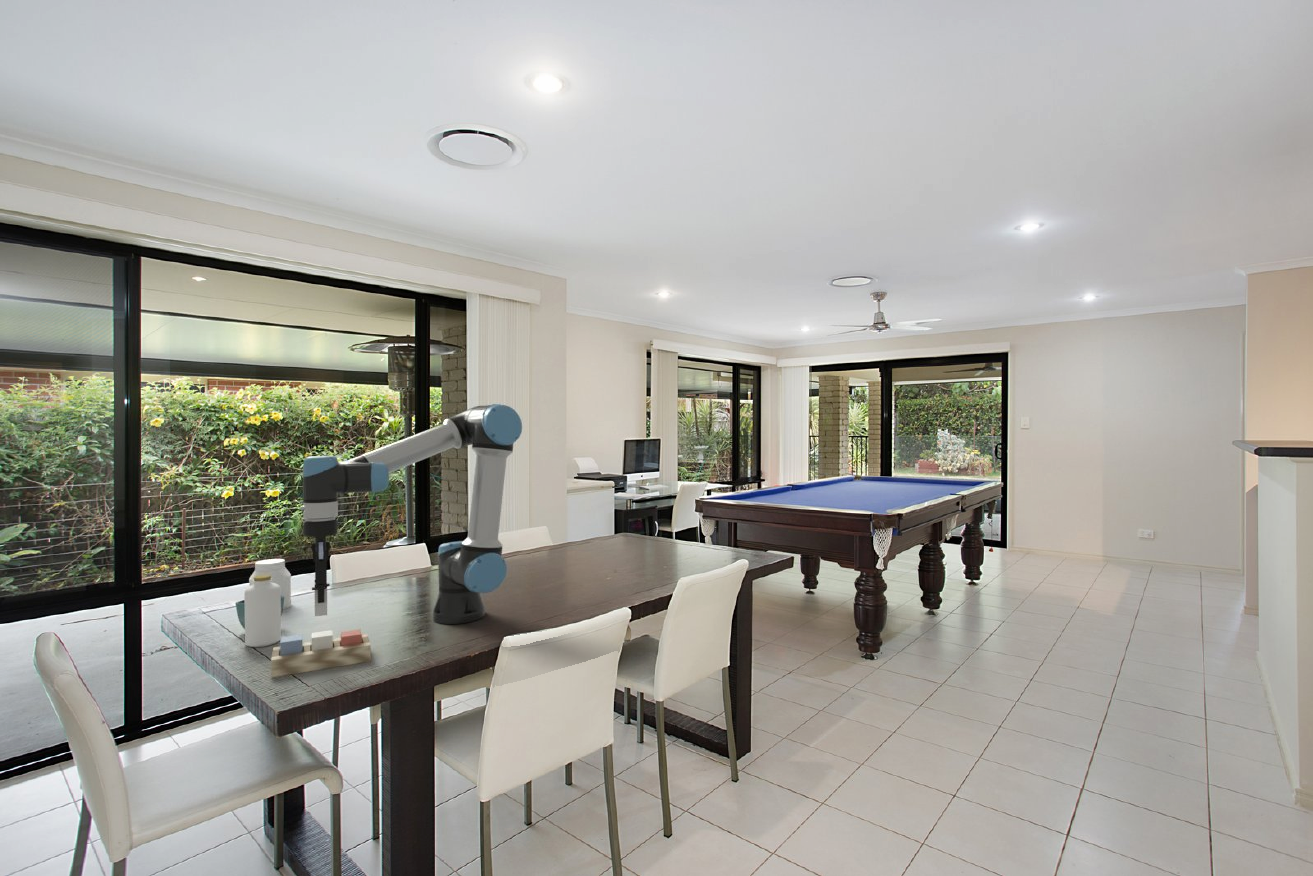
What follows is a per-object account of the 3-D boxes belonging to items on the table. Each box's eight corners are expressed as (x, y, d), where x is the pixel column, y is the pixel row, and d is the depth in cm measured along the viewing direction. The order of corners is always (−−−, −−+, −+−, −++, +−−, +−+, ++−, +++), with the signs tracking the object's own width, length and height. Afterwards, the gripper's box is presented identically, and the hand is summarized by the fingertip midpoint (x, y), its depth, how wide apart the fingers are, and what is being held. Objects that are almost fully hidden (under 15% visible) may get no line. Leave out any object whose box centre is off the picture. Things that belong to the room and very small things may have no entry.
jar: (284, 601, 212) (284, 556, 212) (295, 606, 206) (295, 560, 206) (245, 608, 204) (244, 562, 203) (255, 614, 197) (254, 566, 197)
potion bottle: (255, 638, 174) (254, 573, 174) (287, 637, 175) (286, 572, 174) (238, 649, 166) (237, 580, 165) (271, 647, 166) (270, 579, 166)
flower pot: (261, 636, 176) (261, 604, 176) (234, 634, 178) (234, 602, 178) (285, 626, 185) (285, 595, 185) (260, 624, 187) (259, 594, 186)
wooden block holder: (367, 649, 165) (367, 633, 165) (370, 661, 156) (370, 645, 156) (273, 663, 155) (273, 647, 155) (271, 677, 146) (271, 660, 146)
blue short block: (302, 654, 155) (302, 634, 155) (302, 660, 151) (302, 639, 151) (281, 657, 153) (281, 637, 153) (280, 663, 149) (280, 642, 149)
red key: (360, 648, 162) (360, 629, 162) (361, 654, 158) (361, 634, 158) (341, 651, 160) (340, 632, 159) (341, 657, 156) (341, 637, 155)
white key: (332, 650, 159) (332, 630, 159) (332, 655, 155) (332, 635, 155) (311, 653, 156) (311, 633, 156) (311, 658, 152) (311, 638, 152)
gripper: (303, 516, 159) (303, 610, 159) (302, 523, 148) (303, 624, 148) (336, 515, 163) (337, 606, 163) (338, 521, 151) (339, 619, 151)
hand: (321, 614), depth 155 cm, fingers closed
